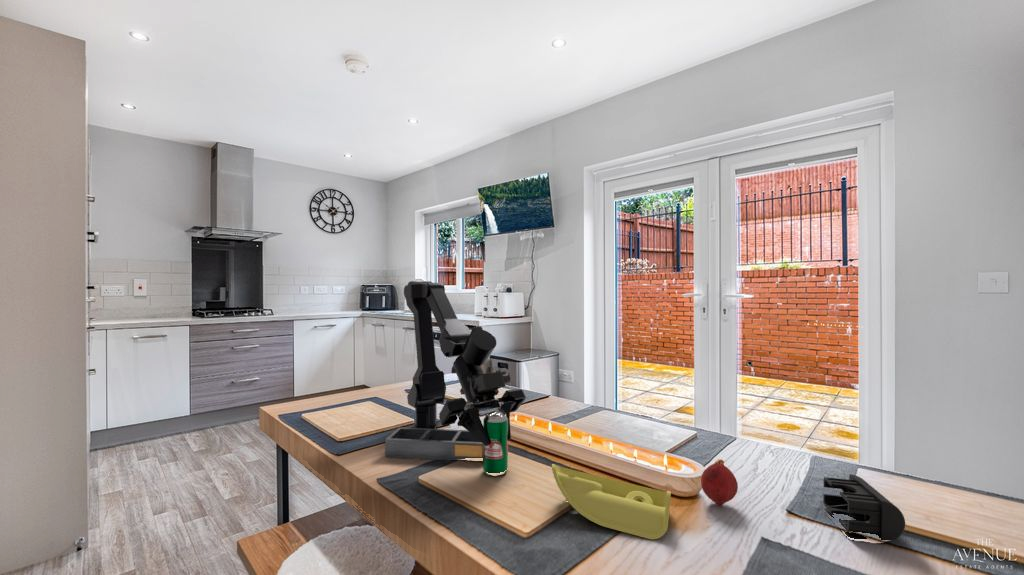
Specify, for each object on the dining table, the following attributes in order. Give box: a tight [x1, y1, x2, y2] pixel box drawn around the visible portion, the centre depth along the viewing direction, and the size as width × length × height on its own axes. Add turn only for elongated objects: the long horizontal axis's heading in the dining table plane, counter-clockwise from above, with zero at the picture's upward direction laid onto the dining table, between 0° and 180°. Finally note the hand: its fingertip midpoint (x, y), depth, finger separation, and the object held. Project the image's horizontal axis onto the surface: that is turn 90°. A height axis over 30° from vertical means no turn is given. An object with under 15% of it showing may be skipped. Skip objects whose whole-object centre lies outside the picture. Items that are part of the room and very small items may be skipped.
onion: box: [700, 458, 739, 506], centre depth 79 cm, size 6×6×8 cm
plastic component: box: [551, 463, 672, 540], centre depth 76 cm, size 20×7×10 cm
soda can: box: [482, 410, 509, 473], centre depth 92 cm, size 5×5×12 cm
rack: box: [384, 427, 483, 461], centre depth 102 cm, size 8×23×4 cm, turn 83°
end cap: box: [822, 473, 906, 541], centre depth 71 cm, size 10×7×7 cm
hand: (498, 442), depth 91 cm, fingers closed on soda can, 5 cm apart
